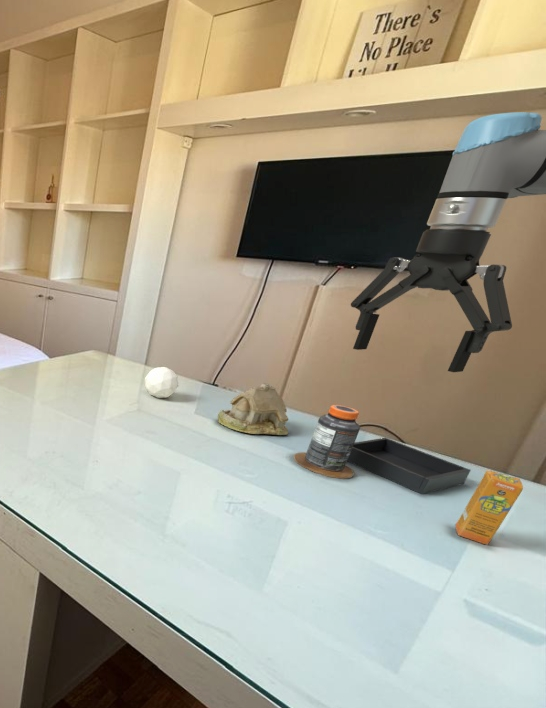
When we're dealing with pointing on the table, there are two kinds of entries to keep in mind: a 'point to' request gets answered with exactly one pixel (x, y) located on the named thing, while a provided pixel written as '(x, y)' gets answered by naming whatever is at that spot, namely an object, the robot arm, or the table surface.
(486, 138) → the robot arm
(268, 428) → the ceramic model
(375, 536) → the table surface
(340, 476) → the coaster
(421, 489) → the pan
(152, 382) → the geometric ball
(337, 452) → the pill bottle
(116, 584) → the table surface
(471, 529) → the supplement box
